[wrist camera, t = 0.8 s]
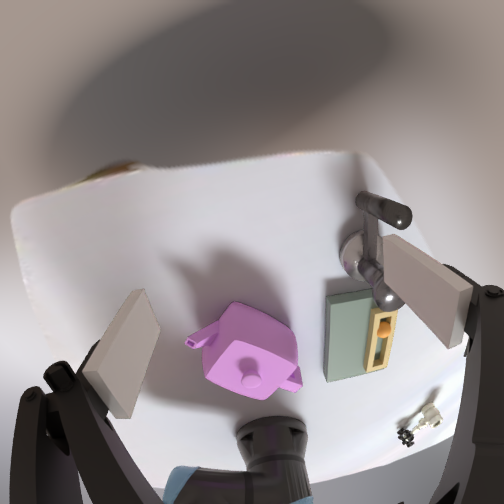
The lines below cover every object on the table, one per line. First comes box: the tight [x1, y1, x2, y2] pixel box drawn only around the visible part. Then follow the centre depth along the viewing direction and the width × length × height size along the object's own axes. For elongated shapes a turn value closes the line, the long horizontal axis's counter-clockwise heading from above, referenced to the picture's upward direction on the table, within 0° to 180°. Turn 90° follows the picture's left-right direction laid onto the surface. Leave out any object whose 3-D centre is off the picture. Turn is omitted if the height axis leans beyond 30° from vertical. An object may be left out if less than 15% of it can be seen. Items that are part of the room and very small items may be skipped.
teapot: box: [184, 302, 303, 400], centre depth 38 cm, size 18×10×10 cm, turn 58°
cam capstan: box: [340, 191, 412, 312], centre depth 33 cm, size 13×7×11 cm, turn 6°
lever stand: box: [324, 289, 398, 383], centre depth 42 cm, size 16×11×5 cm
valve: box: [397, 402, 443, 447], centre depth 53 cm, size 7×7×12 cm
